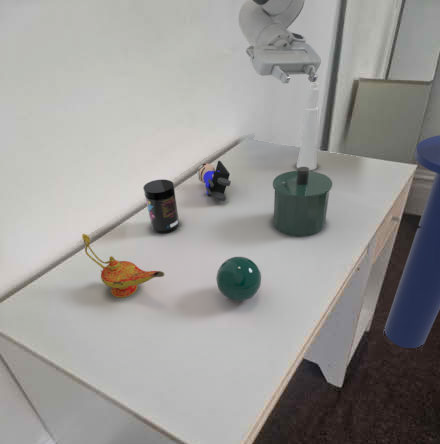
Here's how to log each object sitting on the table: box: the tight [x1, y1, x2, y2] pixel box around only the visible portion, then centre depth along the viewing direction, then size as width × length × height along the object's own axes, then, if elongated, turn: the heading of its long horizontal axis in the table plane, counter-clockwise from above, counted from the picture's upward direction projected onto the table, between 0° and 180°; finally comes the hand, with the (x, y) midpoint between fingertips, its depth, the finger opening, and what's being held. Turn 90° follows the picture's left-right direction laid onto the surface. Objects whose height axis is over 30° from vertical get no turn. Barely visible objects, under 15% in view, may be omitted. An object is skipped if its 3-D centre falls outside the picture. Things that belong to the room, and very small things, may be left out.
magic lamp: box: [81, 233, 165, 299], centre depth 68 cm, size 7×18×11 cm, turn 63°
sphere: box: [215, 256, 262, 302], centre depth 66 cm, size 8×8×8 cm
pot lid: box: [272, 167, 333, 198], centre depth 79 cm, size 13×13×4 cm
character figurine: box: [196, 160, 232, 202], centre depth 98 cm, size 8×7×15 cm
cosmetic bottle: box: [295, 82, 320, 171], centre depth 103 cm, size 6×6×22 cm
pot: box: [273, 189, 330, 237], centre depth 83 cm, size 12×12×10 cm
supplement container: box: [142, 179, 180, 234], centre depth 85 cm, size 7×7×10 cm
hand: (301, 80), depth 96 cm, fingers open, 8 cm apart
